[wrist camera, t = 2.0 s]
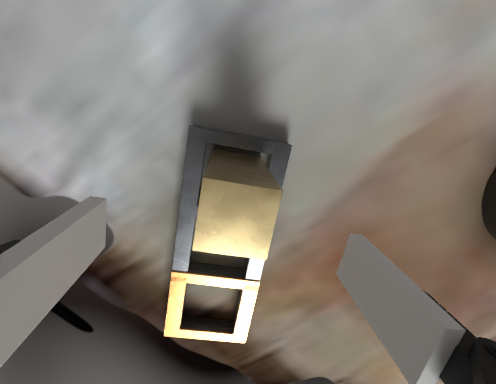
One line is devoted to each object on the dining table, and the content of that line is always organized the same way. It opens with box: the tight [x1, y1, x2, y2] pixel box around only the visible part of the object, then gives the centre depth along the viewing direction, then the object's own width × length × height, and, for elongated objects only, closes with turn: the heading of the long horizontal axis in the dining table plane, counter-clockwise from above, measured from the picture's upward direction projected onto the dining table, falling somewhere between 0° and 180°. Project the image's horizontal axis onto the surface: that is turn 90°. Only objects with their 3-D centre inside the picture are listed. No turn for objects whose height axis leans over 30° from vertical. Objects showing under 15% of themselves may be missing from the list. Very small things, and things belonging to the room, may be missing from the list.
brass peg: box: [192, 149, 283, 260], centre depth 22 cm, size 5×5×12 cm
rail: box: [164, 125, 292, 343], centre depth 29 cm, size 10×25×2 cm, turn 169°
